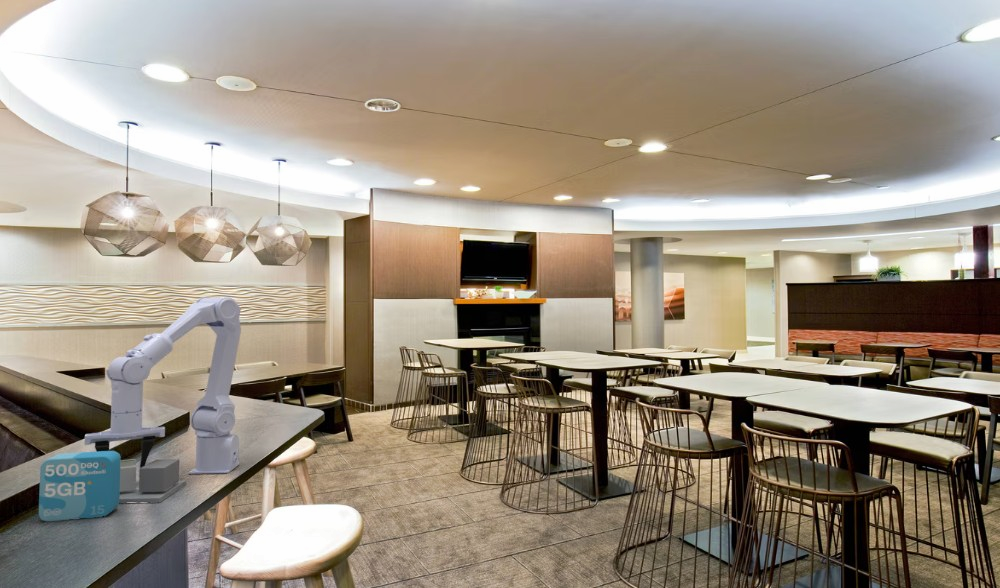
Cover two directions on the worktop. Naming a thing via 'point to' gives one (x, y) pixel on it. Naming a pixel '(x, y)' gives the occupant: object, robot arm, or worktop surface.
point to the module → (128, 475)
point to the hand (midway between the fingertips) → (124, 473)
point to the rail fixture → (155, 482)
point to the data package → (79, 485)
